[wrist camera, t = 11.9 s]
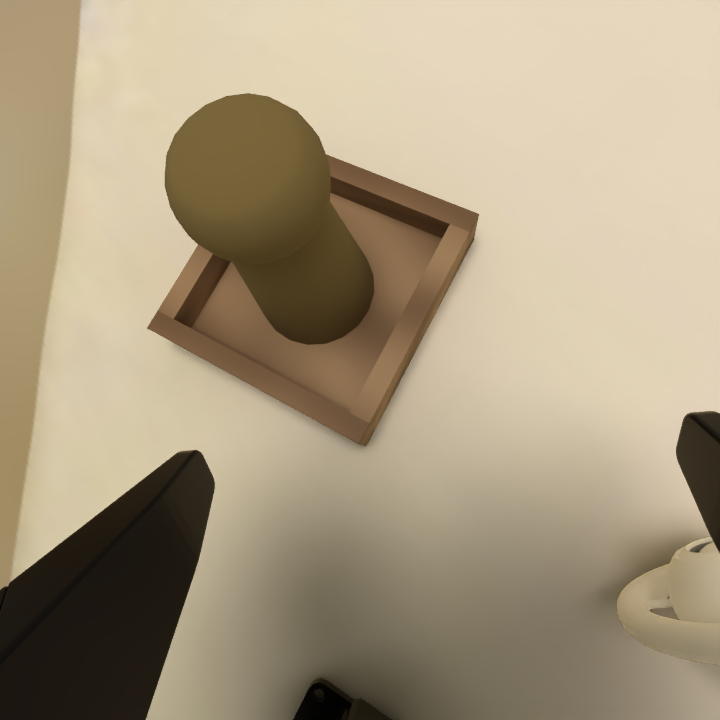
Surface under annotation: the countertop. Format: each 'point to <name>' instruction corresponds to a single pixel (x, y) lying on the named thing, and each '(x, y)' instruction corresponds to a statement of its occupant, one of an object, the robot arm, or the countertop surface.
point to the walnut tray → (360, 346)
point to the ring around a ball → (678, 604)
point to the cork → (270, 214)
